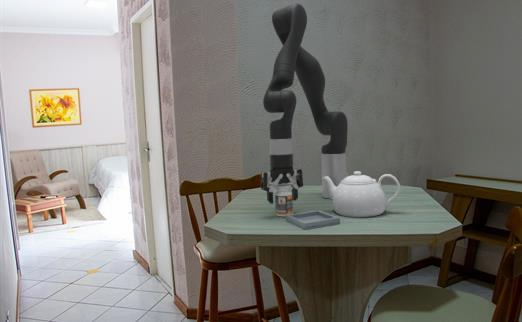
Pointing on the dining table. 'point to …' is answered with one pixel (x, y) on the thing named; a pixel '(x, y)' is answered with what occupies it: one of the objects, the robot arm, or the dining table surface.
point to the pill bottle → (283, 200)
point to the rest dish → (312, 219)
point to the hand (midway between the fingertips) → (282, 201)
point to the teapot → (359, 195)
